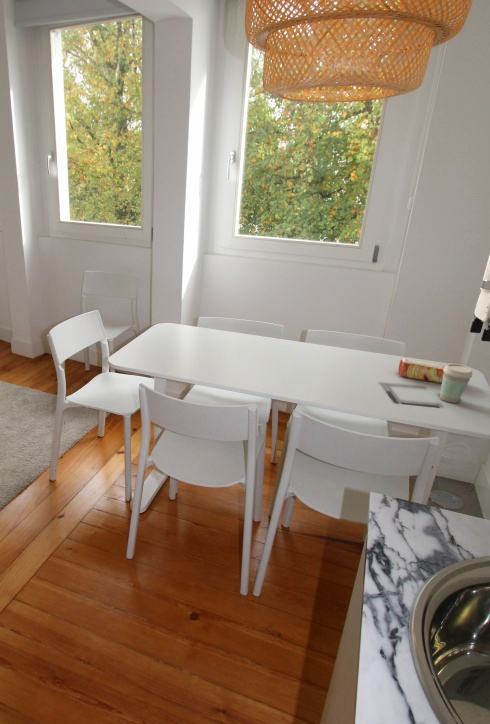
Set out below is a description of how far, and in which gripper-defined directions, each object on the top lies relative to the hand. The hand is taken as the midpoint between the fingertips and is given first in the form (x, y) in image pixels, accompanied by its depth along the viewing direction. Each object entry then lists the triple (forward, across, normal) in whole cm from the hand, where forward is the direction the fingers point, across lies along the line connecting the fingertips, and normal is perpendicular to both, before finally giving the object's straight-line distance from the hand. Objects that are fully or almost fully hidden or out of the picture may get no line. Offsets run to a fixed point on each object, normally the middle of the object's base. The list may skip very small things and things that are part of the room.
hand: (480, 336), depth 157 cm
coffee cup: (+23, -3, +5) cm, 24 cm away
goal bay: (+23, -4, +19) cm, 29 cm away
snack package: (+22, +14, +8) cm, 28 cm away
